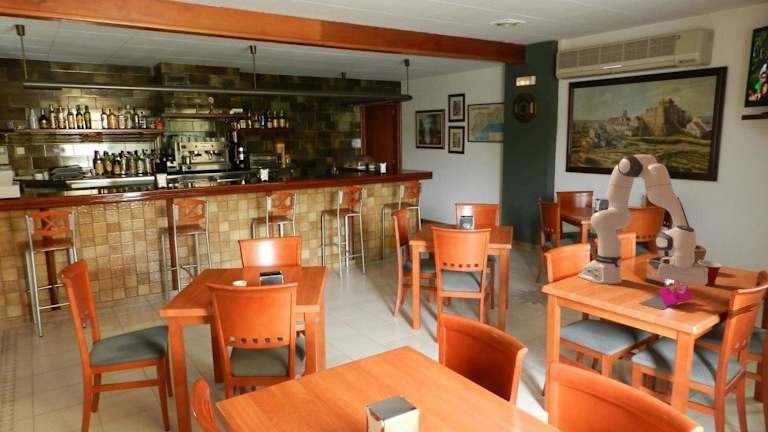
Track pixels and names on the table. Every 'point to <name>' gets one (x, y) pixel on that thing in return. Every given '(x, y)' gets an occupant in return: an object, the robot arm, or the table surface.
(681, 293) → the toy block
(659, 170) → the robot arm
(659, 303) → the rubber mat
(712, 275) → the plastic cup
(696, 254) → the stone cup
